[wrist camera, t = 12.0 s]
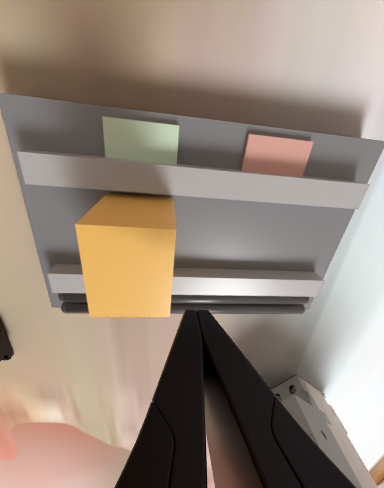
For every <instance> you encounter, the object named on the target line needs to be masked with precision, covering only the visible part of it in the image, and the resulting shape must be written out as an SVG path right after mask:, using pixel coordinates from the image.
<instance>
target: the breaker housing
mask: <svg viewBox="0 0 384 488" xmlns="http://www.w3.org/2000/svg"><path fill="white" fill-rule="evenodd" d="M0 109H1V112H2V116H3V120H4V124H5V128H6V132H7V136H8V139H9V143H10V147H11V151H12V155H13V159H14V163H15V166H16V170H17V174H18V178H19V182H20V186H21V190H22V193H23V197H24V201H25V205H26V209H27V213H28V217H29V220H30V224H31V228H32V232H33V236H34V240H35V244H36V247H37V251H38V255H39V259H40V263H41V267H42V271H43V274H44V278H45V282H46V286H47V290H48V294H49V298H50V301H51V305H52V307H58V308H61V310H62V311H63V312H64V313H89V309H88V303H87V297H86V290H85V284H84V278H83V271H82V265H81V259H80V252H79V246H78V240H77V233H76V227H75V224H76V223H77V222H78V221H79V220H80V219H81V218H82V217H83V216H84V215H85V214H86V213H87V212H88V211H89V210H90V209H91V208H92V207H93V206H94V205H96V204H97V203H98V202H99V201H100V200H101V199H102V198H103V197H104V196H105V195H106V194H107V193H114V194H127V195H141V196H154V197H167V198H174V207H175V219H176V240H175V254H174V267H173V281H172V295H171V308H170V314H184V311H185V310H186V309H195V310H196V311H197V310H198V309H207V310H208V311H209V312H210V313H211V314H302V313H304V311H305V309H309V308H310V305H311V303H312V301H313V299H314V297H317V295H318V293H319V291H320V289H321V287H322V285H323V283H324V280H323V277H324V275H325V273H326V271H327V269H328V267H329V264H330V262H331V260H332V258H333V256H334V254H335V252H336V249H337V247H338V245H339V243H340V241H341V239H342V237H343V234H344V232H345V230H346V228H347V226H348V224H349V221H350V219H351V217H352V215H353V213H354V211H355V209H358V208H359V206H360V204H361V202H362V200H363V198H364V195H365V193H366V191H367V189H368V187H369V184H367V183H368V181H369V178H370V176H371V174H372V172H373V170H374V168H375V166H376V163H377V161H378V159H379V157H380V155H381V153H382V150H383V148H384V141H379V140H371V139H363V138H355V137H347V136H339V135H331V134H323V133H316V132H308V131H300V130H292V129H284V128H276V127H268V126H260V125H252V124H244V123H236V122H228V121H221V120H213V119H205V118H197V117H189V116H181V115H173V114H165V113H157V112H149V111H141V110H133V109H125V108H118V107H110V106H102V105H94V104H86V103H78V102H70V101H62V100H54V99H46V98H38V97H30V96H23V95H15V94H7V93H0Z"/></svg>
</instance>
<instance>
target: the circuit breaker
mask: <svg viewBox="0 0 384 488" xmlns="http://www.w3.org/2000/svg"><path fill="white" fill-rule="evenodd" d="M292 385H293V386H294V387H292V388H291V387H290V386H292ZM271 390H272V391H273V392H274V394H275V396H277V397H278V399H279V400H280V401H281V402H282V404H283V405H284V406H285V407H286V409H287V410H288V411H289V412H290V414H291V415H292V416H293V417H294V418H295V420H296V421H297V422H298V423H299V424H300V426H301V427H302V428H303V429H304V430H305V432H306V433H307V434H308V435H309V436H310V437H311V438H312V439H313V440H314V442H315V443H316V444H317V445H318V446H319V447H320V448H321V449H322V451H323V452H324V453H325V454H326V455H327V456H328V457H329V458H330V459H331V460H332V461H333V463H334V464H335V465H336V466H337V467H338V468H339V469H340V470H341V471H342V472H343V473H344V474H345V476H346V477H347V478H348V479H349V480H350V481H351V482H352V483H353V484H354V485H355V486H356V487H357V488H378V487H377V485H376V484H375V482H374V480H373V479H372V477H371V475H370V474H369V472H368V470H367V468H366V467H365V465H364V463H363V462H362V460H361V458H360V457H359V455H358V453H357V452H356V450H355V448H354V446H353V445H352V443H351V441H350V440H349V438H348V436H347V435H346V434H348V433H347V431H346V430H345V428H344V426H343V425H342V423H341V421H340V420H339V418H338V416H337V415H336V413H335V411H334V410H333V408H332V406H330V405H329V404H327V402H326V400H325V399H324V398H326V396H325V395H324V394H321V392H320V391H319V390H317V389H316V388H315V387H313V386H312V385H310V384H309V383H308V382H306V381H305V380H303V379H302V378H301V377H299V376H298V375H295V376H294V377H292V378H290V379H288V380H287V381H285V382H283V383H282V384H280V385H278V386H277V387H275V388H273V389H271ZM277 394H280V395H277ZM275 396H274V397H275ZM332 412H333V413H332Z"/></svg>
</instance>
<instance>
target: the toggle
mask: <svg viewBox="0 0 384 488" xmlns="http://www.w3.org/2000/svg"><path fill="white" fill-rule="evenodd" d="M75 227H76V233H77V240H78V246H79V252H80V259H81V265H82V271H83V278H84V284H85V290H86V297H87V303H88V309H89V316H90V317H170V308H171V295H172V281H173V267H174V254H175V240H176V219H175V207H174V198H167V197H154V196H141V195H127V194H114V193H107V194H106V195H105V196H104V197H103V198H102V199H101V200H100V201H99V202H98V203H97V204H96V205H94V206H93V207H92V208H91V209H90V210H89V211H88V212H87V213H86V214H85V215H84V216H83V217H82V218H81V219H80V220H79V221H78V222H77V223H76V224H75Z"/></svg>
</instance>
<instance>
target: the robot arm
mask: <svg viewBox="0 0 384 488" xmlns="http://www.w3.org/2000/svg"><path fill="white" fill-rule="evenodd" d="M13 355H14V353H13V350H12V348H11V345H10V343H9V341H8V338H7V336H6V334H5V331H4V329H3V326H2V324H1V322H0V361H1V360H9V359H11V357H12V356H13ZM274 396H275V394H274V392H273V391H272V390H271V389H270V387H269V386H268V385H267V384H266V382H265V381H264V380H263V379H262V377H261V376H260V375H259V374H258V372H257V371H256V370H255V368H254V367H253V366H252V365H251V363H250V362H249V361H248V360H247V358H246V357H245V356H244V355H243V353H242V352H241V351H240V350H239V348H238V347H237V346H236V345H235V343H234V342H233V341H232V339H231V338H230V337H229V336H228V334H227V333H226V332H225V331H224V329H223V328H222V327H221V326H220V324H219V323H218V322H217V321H216V319H215V318H214V317H213V316H212V314H211V313H210V312H209V311H208V310H207V309H198V310H197V311H196V310H195V309H186V310H185V311H184V314H183V317H182V319H181V322H180V325H179V328H178V330H177V333H176V336H175V339H174V341H173V344H172V347H171V350H170V352H169V355H168V358H167V361H166V363H165V366H164V369H163V371H162V374H161V377H160V380H159V382H158V385H157V388H156V391H155V393H154V396H153V399H152V402H151V404H150V407H149V409H148V412H147V415H146V418H145V420H144V423H143V425H142V428H141V430H140V433H139V435H138V438H137V440H136V443H135V445H134V447H133V449H132V451H131V454H130V456H129V458H128V460H127V462H126V465H125V467H124V469H123V471H122V473H121V475H120V477H119V479H118V481H117V483H116V485H115V488H207V460H206V435H207V441H208V447H209V453H210V459H211V465H212V471H213V477H214V483H215V488H357V487H356V486H355V485H354V484H353V483H352V482H351V481H350V480H349V479H348V478H347V477H346V476H345V474H344V473H343V472H342V471H341V470H340V469H339V468H338V467H337V466H336V465H335V464H334V463H333V461H332V460H331V459H330V458H329V457H328V456H327V455H326V454H325V453H324V452H323V451H322V449H321V448H320V447H319V446H318V445H317V444H316V443H315V442H314V440H313V439H312V438H311V437H310V436H309V435H308V434H307V433H306V432H305V430H304V429H303V428H302V427H301V426H300V424H299V423H298V422H297V421H296V420H295V418H294V417H293V416H292V415H291V414H290V412H289V411H288V410H287V409H286V407H285V406H284V405H283V404H282V402H281V401H280V400H279V399H278V397H277V396H275V397H274Z"/></svg>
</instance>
